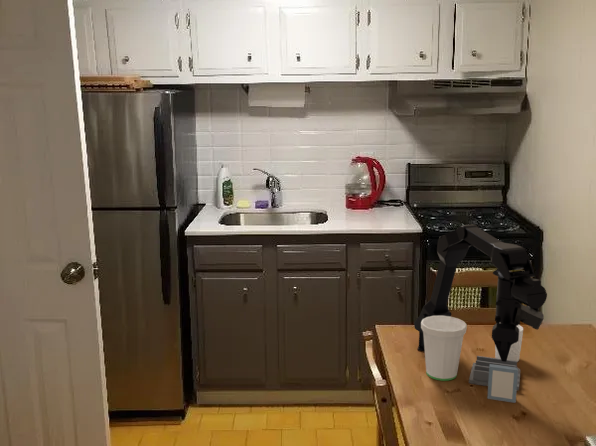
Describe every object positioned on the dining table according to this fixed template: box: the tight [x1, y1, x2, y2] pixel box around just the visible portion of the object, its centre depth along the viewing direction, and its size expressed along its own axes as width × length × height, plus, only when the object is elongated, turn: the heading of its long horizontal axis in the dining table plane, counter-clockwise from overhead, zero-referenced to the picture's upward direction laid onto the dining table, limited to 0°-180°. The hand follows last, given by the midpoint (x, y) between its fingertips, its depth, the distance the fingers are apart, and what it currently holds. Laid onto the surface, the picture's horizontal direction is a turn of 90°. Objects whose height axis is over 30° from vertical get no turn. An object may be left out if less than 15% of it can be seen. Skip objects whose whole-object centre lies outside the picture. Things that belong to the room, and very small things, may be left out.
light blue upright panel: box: [487, 364, 519, 404], centre depth 167 cm, size 7×2×9 cm, turn 70°
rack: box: [468, 355, 521, 392], centre depth 179 cm, size 13×12×4 cm
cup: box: [421, 316, 468, 382], centre depth 181 cm, size 12×12×15 cm
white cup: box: [494, 324, 524, 363], centre depth 191 cm, size 8×8×10 cm
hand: (504, 354), depth 165 cm, fingers open, 9 cm apart
